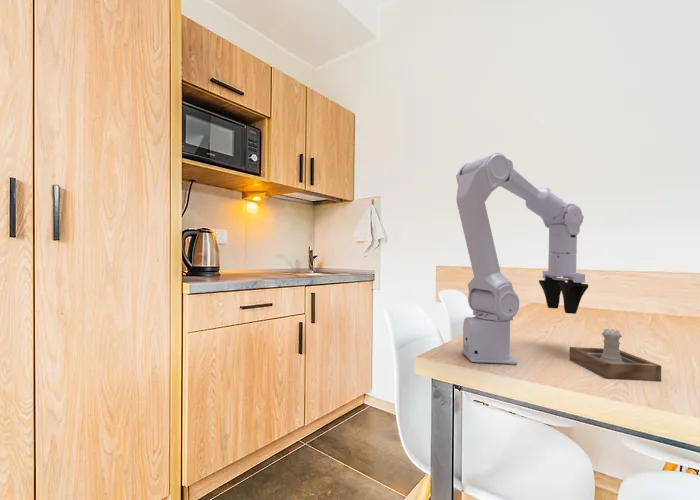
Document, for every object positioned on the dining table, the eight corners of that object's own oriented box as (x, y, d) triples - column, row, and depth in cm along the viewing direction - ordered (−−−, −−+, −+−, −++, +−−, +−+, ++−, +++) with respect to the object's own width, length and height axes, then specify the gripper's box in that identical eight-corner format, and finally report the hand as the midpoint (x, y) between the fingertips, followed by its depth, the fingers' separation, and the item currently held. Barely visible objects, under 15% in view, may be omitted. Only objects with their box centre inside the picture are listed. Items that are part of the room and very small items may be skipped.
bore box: (604, 378, 64) (605, 363, 64) (569, 359, 75) (569, 346, 75) (661, 380, 63) (661, 365, 63) (616, 361, 74) (616, 348, 74)
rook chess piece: (630, 374, 66) (630, 333, 66) (603, 371, 67) (604, 331, 68) (618, 367, 71) (618, 328, 71) (593, 365, 72) (594, 327, 72)
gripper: (599, 254, 74) (598, 316, 74) (562, 254, 89) (561, 306, 88) (566, 253, 75) (565, 315, 74) (534, 254, 89) (533, 305, 89)
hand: (561, 310), depth 81 cm, fingers open, 7 cm apart
